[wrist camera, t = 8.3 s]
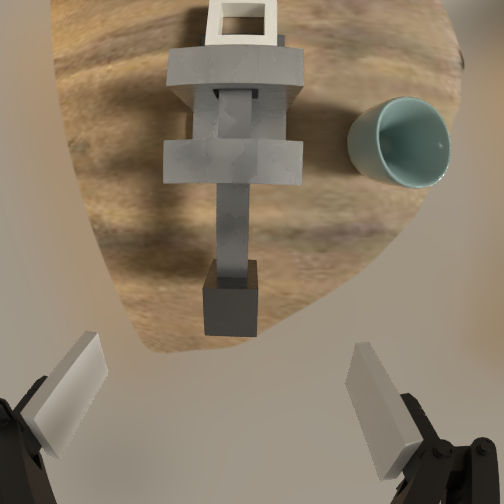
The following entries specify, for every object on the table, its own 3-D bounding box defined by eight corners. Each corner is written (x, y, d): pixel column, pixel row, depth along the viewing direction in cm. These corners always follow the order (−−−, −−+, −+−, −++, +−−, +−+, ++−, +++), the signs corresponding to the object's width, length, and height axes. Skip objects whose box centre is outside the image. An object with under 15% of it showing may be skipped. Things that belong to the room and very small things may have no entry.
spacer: (208, 57, 26) (213, 10, 25) (274, 57, 26) (274, 10, 25) (204, 45, 23) (210, -4, 22) (276, 45, 23) (276, -4, 22)
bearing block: (196, 82, 27) (169, 43, 17) (285, 83, 27) (303, 42, 17) (193, 182, 30) (163, 190, 20) (283, 183, 30) (301, 192, 20)
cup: (340, 183, 30) (377, 190, 21) (334, 112, 28) (369, 91, 19) (402, 181, 30) (454, 189, 21) (397, 115, 28) (447, 101, 19)
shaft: (216, 77, 23) (205, 49, 17) (261, 77, 23) (264, 49, 17) (214, 297, 29) (204, 335, 22) (255, 299, 29) (256, 337, 22)
